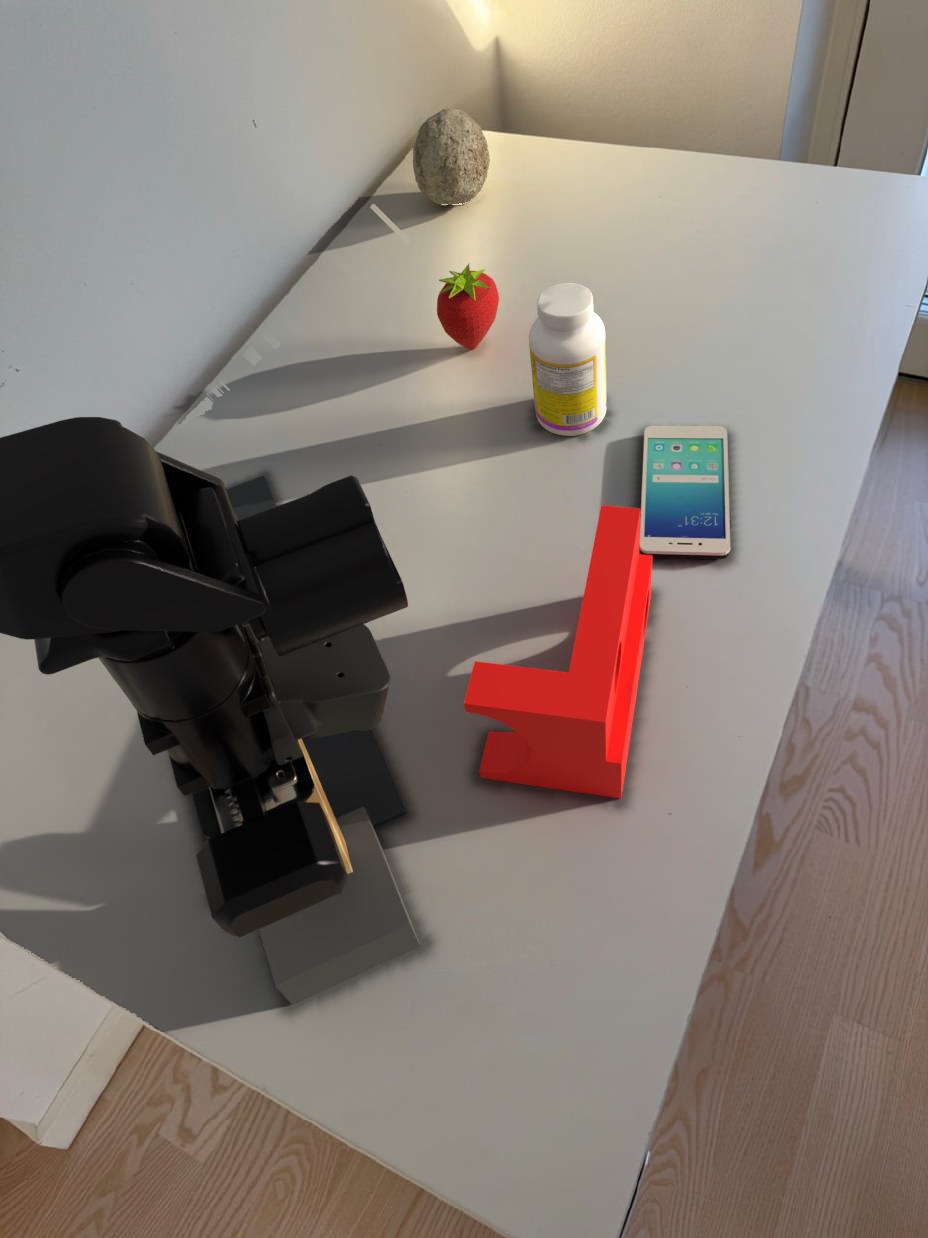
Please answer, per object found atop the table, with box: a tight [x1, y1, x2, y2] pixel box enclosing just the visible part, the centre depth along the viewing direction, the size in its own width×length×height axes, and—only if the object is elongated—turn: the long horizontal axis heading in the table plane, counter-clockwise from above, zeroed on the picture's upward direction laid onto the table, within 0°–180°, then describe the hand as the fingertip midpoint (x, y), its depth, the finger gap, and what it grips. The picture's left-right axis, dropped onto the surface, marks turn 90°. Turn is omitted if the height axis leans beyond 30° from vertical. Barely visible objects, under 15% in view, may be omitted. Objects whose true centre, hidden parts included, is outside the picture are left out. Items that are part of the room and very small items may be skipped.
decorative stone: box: [412, 107, 491, 207], centre depth 114 cm, size 10×8×10 cm
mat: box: [191, 475, 407, 843], centre depth 81 cm, size 38×14×1 cm, turn 23°
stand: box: [258, 807, 421, 1005], centre depth 66 cm, size 9×9×4 cm
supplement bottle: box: [528, 282, 608, 437], centre depth 88 cm, size 7×7×13 cm
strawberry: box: [436, 263, 500, 351], centre depth 97 cm, size 6×8×10 cm
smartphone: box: [639, 425, 732, 560], centre depth 85 cm, size 8×1×15 cm
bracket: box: [463, 504, 654, 799], centre depth 72 cm, size 18×10×10 cm
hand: (279, 817), depth 58 cm, fingers closed
